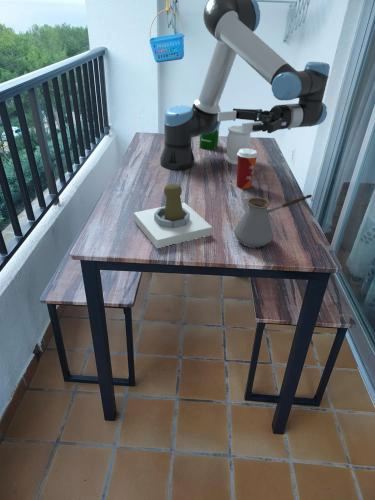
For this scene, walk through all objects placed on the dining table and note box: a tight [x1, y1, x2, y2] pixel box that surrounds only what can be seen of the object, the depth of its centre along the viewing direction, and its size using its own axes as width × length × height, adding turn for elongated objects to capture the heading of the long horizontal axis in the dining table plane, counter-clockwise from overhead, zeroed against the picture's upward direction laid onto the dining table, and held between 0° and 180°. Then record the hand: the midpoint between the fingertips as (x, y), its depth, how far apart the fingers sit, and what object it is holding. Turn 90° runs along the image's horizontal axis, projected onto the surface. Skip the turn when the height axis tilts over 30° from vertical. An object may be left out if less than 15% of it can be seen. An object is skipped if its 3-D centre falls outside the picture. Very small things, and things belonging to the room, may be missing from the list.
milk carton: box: [199, 108, 222, 151], centre depth 175 cm, size 9×9×20 cm
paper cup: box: [235, 147, 258, 190], centre depth 138 cm, size 8×8×14 cm
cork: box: [163, 182, 184, 221], centre depth 107 cm, size 6×6×11 cm
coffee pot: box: [233, 194, 314, 248], centre depth 104 cm, size 21×12×15 cm, turn 96°
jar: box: [226, 125, 252, 166], centre depth 160 cm, size 11×10×15 cm
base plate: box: [133, 202, 213, 250], centre depth 111 cm, size 18×18×5 cm
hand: (229, 122), depth 109 cm, fingers open, 13 cm apart
